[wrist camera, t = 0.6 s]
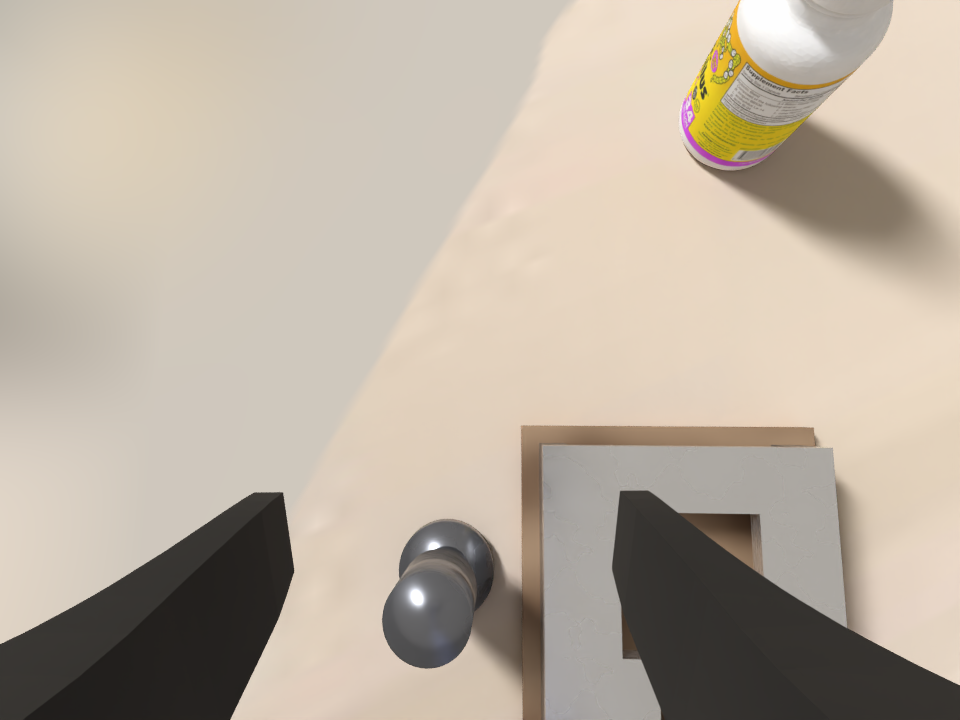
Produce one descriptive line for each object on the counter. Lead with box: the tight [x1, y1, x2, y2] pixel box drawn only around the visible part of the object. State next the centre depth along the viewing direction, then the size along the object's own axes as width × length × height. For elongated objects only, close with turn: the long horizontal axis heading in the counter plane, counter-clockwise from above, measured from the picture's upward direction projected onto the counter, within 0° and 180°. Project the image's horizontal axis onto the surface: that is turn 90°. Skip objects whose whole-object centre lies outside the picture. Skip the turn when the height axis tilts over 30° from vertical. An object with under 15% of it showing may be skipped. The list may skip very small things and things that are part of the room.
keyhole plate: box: [539, 443, 847, 720], centre depth 26 cm, size 20×15×3 cm
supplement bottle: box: [679, 0, 893, 170], centre depth 26 cm, size 7×7×13 cm
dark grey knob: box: [382, 519, 494, 668], centre depth 26 cm, size 6×6×8 cm
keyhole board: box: [521, 426, 815, 720], centre depth 28 cm, size 22×17×1 cm
